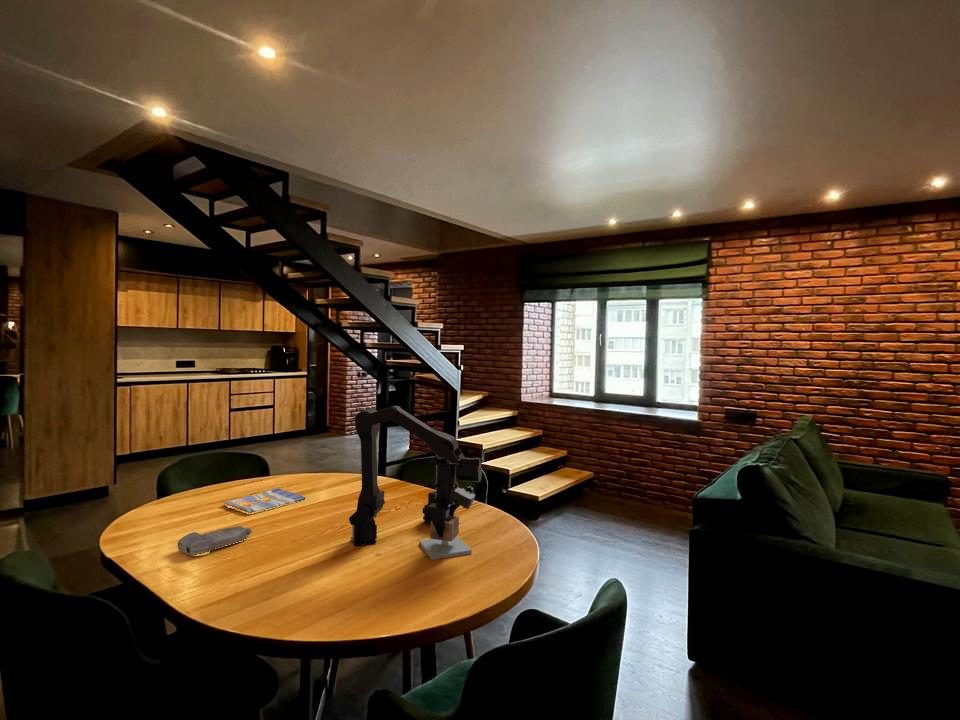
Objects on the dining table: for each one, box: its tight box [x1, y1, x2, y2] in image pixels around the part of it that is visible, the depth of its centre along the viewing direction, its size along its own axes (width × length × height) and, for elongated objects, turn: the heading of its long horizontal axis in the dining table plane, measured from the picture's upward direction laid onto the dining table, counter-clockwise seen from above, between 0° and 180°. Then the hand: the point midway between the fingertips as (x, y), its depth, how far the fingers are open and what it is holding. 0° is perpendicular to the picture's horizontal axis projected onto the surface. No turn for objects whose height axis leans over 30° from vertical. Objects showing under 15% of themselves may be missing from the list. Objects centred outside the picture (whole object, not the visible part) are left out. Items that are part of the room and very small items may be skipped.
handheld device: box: [177, 525, 253, 556], centre depth 149 cm, size 10×20×5 cm, turn 144°
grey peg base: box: [418, 535, 473, 561], centre depth 149 cm, size 12×12×8 cm
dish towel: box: [223, 487, 306, 513], centre depth 189 cm, size 17×24×3 cm
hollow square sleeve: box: [430, 515, 460, 541], centre depth 149 cm, size 6×6×5 cm
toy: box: [422, 490, 438, 526], centre depth 169 cm, size 8×14×10 cm, turn 44°
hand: (444, 532), depth 149 cm, fingers closed on hollow square sleeve, 6 cm apart
